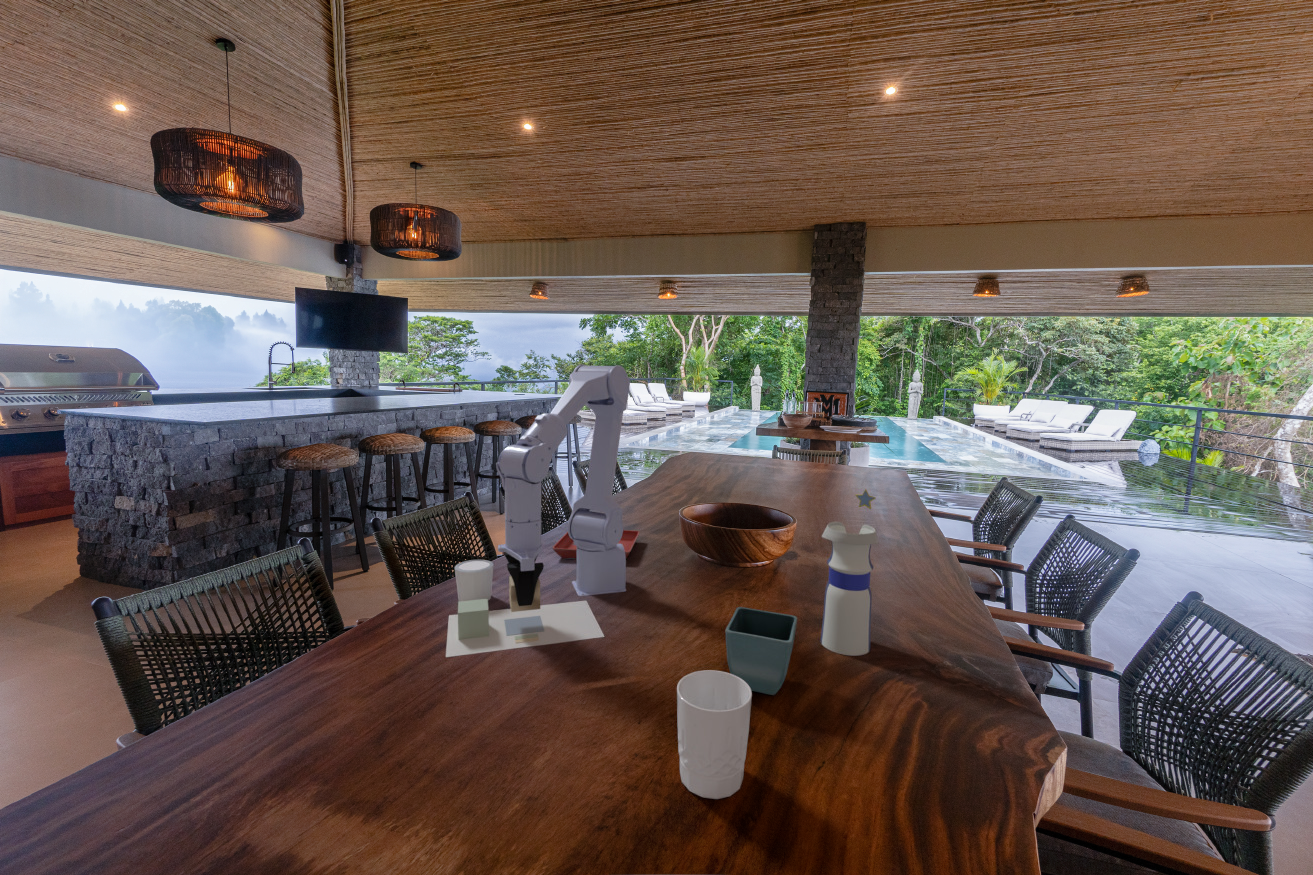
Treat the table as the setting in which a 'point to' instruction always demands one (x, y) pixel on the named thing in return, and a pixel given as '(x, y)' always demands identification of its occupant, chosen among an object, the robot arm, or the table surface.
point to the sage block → (473, 619)
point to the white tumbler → (474, 579)
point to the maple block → (513, 598)
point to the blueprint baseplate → (527, 629)
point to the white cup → (712, 732)
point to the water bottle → (848, 588)
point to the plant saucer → (569, 550)
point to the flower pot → (760, 647)
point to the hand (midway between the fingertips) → (523, 598)
